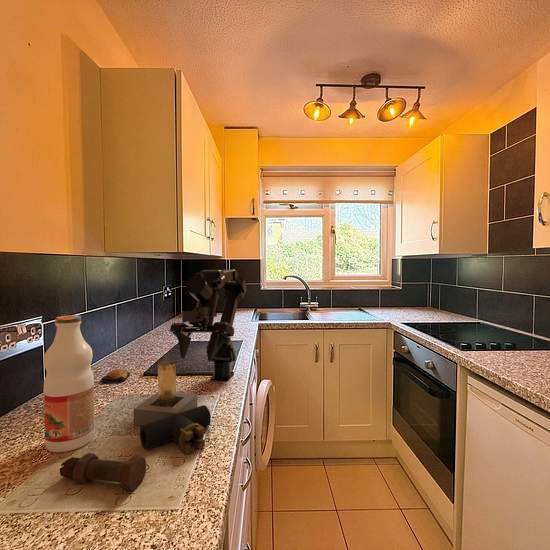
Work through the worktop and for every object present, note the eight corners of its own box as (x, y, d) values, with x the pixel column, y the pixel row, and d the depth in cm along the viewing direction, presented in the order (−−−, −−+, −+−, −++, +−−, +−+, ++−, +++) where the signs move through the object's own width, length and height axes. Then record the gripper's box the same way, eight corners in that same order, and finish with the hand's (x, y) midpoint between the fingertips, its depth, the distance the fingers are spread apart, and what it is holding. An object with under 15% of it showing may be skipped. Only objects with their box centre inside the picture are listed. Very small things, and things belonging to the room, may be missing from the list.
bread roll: (107, 376, 116) (107, 366, 115) (132, 374, 117) (132, 364, 117) (97, 387, 105) (97, 375, 105) (125, 384, 107) (125, 373, 107)
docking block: (159, 405, 90) (158, 391, 90) (197, 408, 88) (196, 394, 88) (134, 424, 79) (133, 408, 79) (176, 429, 77) (176, 412, 77)
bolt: (69, 484, 60) (141, 491, 58) (48, 486, 56) (125, 494, 53) (80, 449, 63) (149, 454, 61) (61, 449, 59) (135, 454, 56)
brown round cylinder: (158, 413, 85) (158, 361, 84) (175, 411, 86) (175, 359, 86) (158, 421, 81) (157, 366, 80) (176, 418, 82) (176, 364, 82)
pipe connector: (225, 416, 72) (161, 441, 62) (226, 440, 72) (161, 468, 62) (200, 401, 81) (139, 421, 71) (200, 422, 81) (140, 445, 71)
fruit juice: (94, 446, 69) (92, 318, 69) (41, 458, 65) (38, 321, 64) (95, 427, 78) (93, 312, 77) (48, 437, 73) (45, 315, 73)
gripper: (164, 298, 94) (151, 351, 87) (221, 295, 88) (211, 352, 81) (185, 311, 103) (174, 360, 96) (238, 309, 97) (230, 361, 90)
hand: (196, 358), depth 91 cm, fingers open, 9 cm apart
